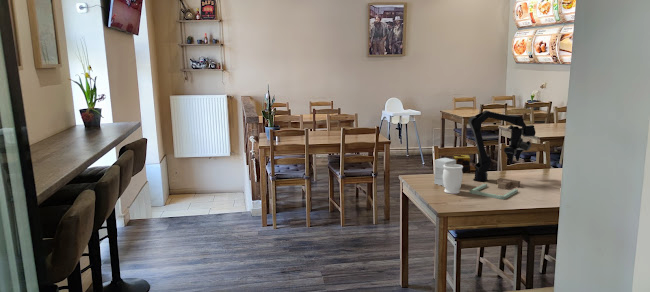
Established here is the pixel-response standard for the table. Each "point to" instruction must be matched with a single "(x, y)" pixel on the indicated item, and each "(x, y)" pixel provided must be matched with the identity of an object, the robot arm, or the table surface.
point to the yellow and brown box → (463, 162)
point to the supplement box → (441, 169)
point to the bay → (476, 191)
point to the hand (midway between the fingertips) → (514, 162)
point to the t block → (507, 183)
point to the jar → (452, 178)
